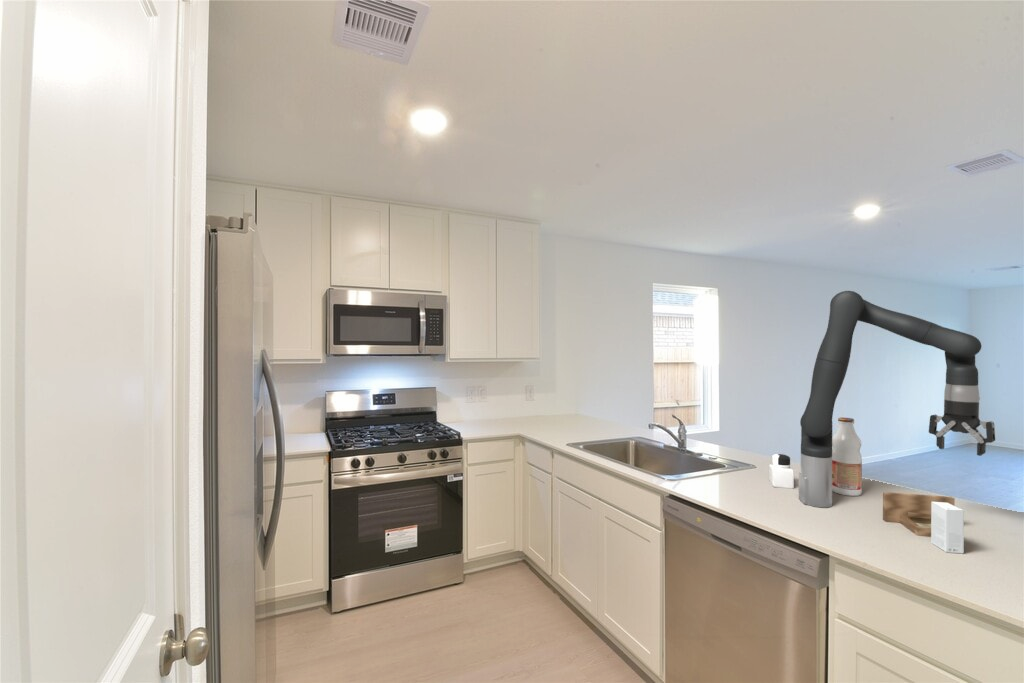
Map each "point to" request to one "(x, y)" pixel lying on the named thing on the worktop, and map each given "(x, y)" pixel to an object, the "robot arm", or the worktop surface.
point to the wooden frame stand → (911, 510)
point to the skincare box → (947, 527)
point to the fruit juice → (846, 459)
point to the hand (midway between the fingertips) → (960, 451)
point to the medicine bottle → (781, 472)
